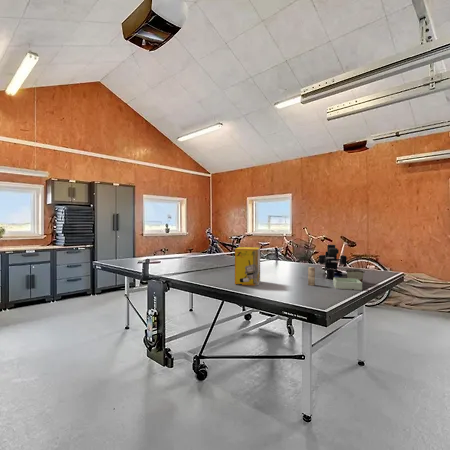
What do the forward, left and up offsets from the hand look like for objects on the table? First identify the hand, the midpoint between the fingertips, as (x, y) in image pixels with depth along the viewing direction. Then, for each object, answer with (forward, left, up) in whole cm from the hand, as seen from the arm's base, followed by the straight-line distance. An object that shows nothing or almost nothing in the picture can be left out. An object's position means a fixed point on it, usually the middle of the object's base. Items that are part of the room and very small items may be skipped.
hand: (333, 261), depth 207 cm
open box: (+5, +8, -17) cm, 19 cm away
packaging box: (+9, -59, -17) cm, 62 cm away
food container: (-10, +15, -17) cm, 25 cm away
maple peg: (+5, -15, -17) cm, 23 cm away
